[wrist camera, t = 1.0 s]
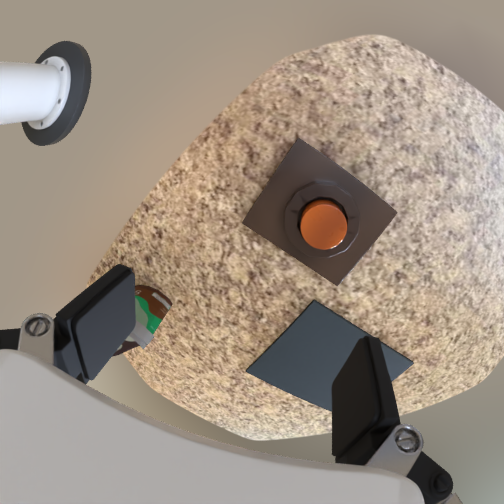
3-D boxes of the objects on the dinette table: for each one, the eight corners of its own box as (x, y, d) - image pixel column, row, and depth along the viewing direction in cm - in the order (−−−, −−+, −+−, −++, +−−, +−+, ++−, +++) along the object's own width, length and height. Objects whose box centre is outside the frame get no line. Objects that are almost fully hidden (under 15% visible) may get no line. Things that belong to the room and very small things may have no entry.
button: (292, 225, 25) (291, 232, 23) (317, 190, 24) (318, 194, 22) (326, 249, 25) (328, 258, 24) (352, 216, 24) (356, 222, 22)
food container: (153, 262, 34) (110, 303, 25) (180, 300, 36) (146, 347, 27) (104, 295, 38) (66, 331, 29) (128, 325, 40) (94, 366, 31)
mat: (246, 369, 39) (245, 371, 39) (314, 299, 32) (314, 300, 32) (342, 414, 40) (342, 416, 40) (413, 361, 34) (413, 363, 33)
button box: (246, 216, 30) (237, 228, 26) (298, 138, 26) (297, 137, 22) (335, 275, 31) (339, 295, 27) (389, 206, 27) (403, 217, 23)
